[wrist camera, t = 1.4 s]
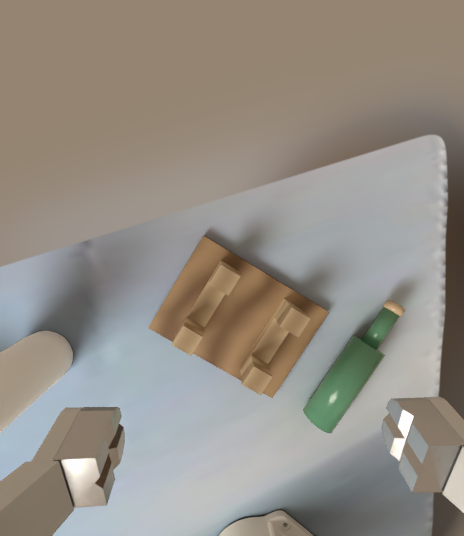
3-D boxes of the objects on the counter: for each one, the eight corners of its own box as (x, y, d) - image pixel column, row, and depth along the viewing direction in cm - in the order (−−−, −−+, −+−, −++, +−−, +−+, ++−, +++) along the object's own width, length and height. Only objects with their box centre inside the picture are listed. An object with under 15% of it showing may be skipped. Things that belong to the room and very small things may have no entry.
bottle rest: (326, 310, 47) (342, 322, 40) (270, 393, 48) (278, 418, 42) (203, 235, 44) (200, 236, 38) (150, 325, 46) (138, 340, 40)
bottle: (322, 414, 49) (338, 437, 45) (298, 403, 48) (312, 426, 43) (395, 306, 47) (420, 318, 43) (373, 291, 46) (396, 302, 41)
